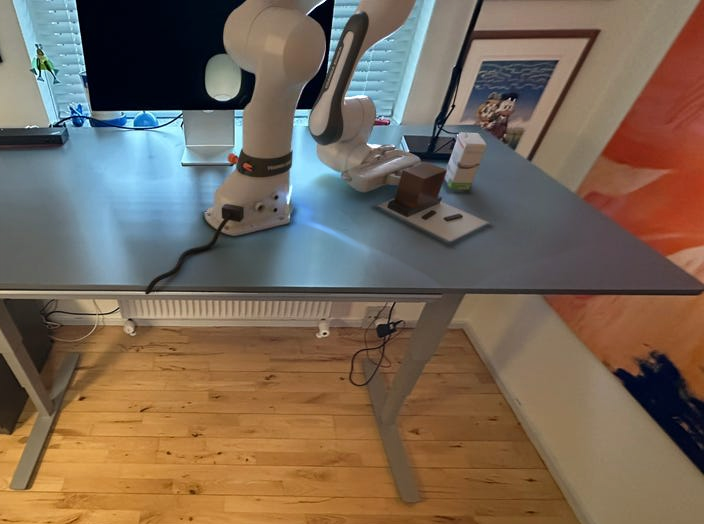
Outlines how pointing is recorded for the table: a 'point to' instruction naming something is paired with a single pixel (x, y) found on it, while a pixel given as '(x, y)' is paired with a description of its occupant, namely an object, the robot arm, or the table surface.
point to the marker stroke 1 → (428, 215)
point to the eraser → (418, 189)
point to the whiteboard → (442, 221)
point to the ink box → (465, 160)
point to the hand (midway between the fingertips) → (409, 182)
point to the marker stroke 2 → (453, 217)
